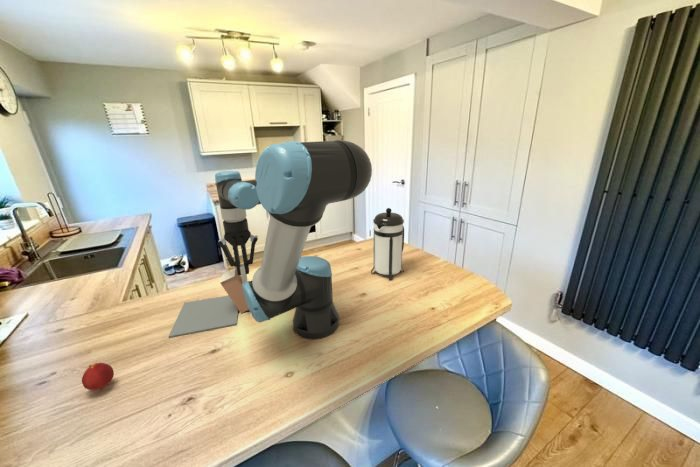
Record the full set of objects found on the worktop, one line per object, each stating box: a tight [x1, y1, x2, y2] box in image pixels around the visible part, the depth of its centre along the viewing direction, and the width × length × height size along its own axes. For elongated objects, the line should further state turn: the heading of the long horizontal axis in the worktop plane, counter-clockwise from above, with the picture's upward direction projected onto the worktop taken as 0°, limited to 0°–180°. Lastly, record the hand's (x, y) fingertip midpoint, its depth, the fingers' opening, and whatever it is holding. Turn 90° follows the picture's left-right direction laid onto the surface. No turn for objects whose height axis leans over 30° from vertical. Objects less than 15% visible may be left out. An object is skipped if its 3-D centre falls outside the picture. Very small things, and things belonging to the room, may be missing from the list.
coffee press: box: [370, 207, 405, 281], centre depth 122 cm, size 17×16×30 cm
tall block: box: [220, 267, 250, 314], centre depth 100 cm, size 7×5×14 cm
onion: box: [81, 362, 115, 391], centre depth 69 cm, size 6×6×8 cm
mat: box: [168, 294, 239, 339], centre depth 100 cm, size 20×20×1 cm
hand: (245, 282), depth 100 cm, fingers closed
